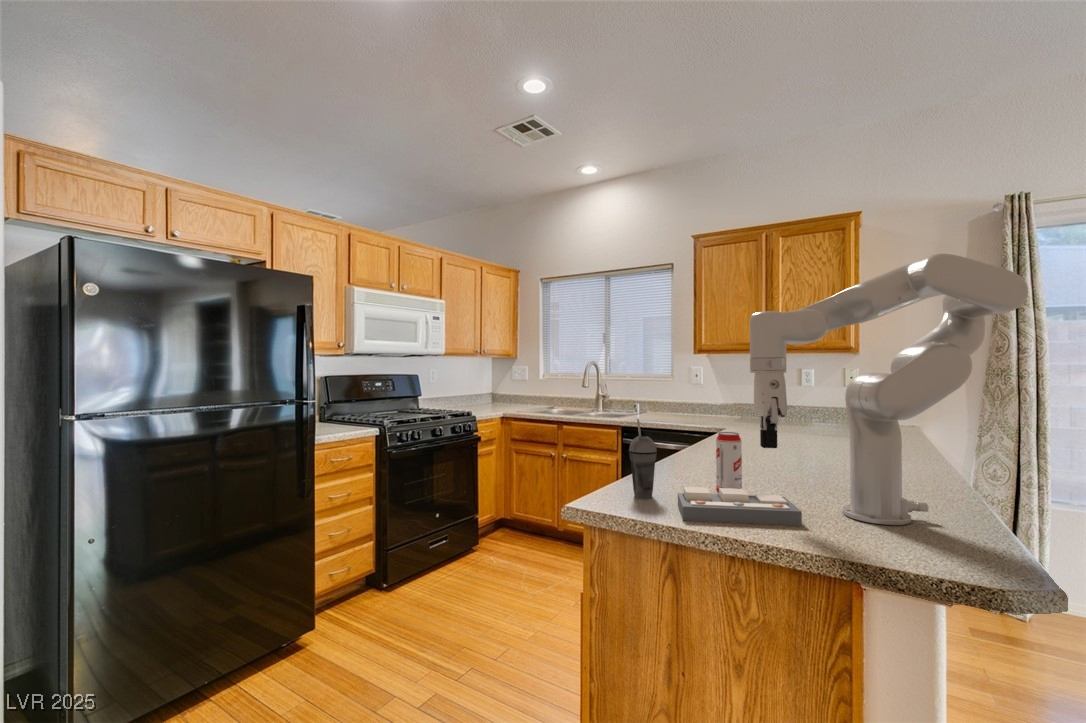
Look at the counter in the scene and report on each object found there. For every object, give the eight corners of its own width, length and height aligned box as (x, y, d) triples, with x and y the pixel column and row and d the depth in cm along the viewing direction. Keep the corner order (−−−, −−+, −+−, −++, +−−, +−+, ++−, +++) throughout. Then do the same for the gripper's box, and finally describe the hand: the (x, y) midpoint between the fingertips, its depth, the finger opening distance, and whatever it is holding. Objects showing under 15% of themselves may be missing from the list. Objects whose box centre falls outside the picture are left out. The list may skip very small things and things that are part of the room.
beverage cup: (660, 500, 125) (659, 420, 125) (631, 500, 125) (630, 420, 125) (654, 492, 132) (653, 417, 132) (626, 492, 132) (626, 417, 132)
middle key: (743, 501, 116) (743, 488, 116) (748, 508, 111) (748, 494, 111) (719, 500, 117) (718, 487, 117) (723, 507, 112) (723, 493, 112)
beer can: (744, 493, 130) (743, 432, 131) (739, 499, 125) (738, 435, 125) (719, 490, 134) (719, 431, 134) (713, 496, 129) (713, 433, 129)
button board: (784, 509, 116) (784, 494, 116) (801, 525, 104) (801, 509, 104) (677, 505, 120) (677, 490, 120) (682, 520, 108) (682, 504, 108)
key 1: (707, 500, 118) (707, 487, 118) (711, 506, 112) (711, 493, 112) (683, 499, 119) (683, 486, 119) (686, 505, 113) (686, 492, 113)
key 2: (780, 508, 115) (779, 495, 115) (787, 515, 110) (787, 501, 110) (755, 507, 116) (755, 494, 116) (761, 514, 111) (761, 500, 111)
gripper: (796, 366, 105) (797, 453, 105) (776, 366, 120) (777, 442, 120) (758, 366, 106) (759, 452, 106) (743, 366, 121) (744, 442, 121)
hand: (768, 447), depth 113 cm, fingers closed
